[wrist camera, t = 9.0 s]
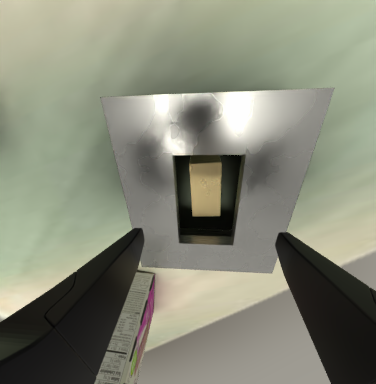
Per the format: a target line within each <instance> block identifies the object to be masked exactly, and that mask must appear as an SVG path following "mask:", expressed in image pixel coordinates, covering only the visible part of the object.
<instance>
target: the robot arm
mask: <svg viewBox="0 0 376 384" xmlns="http://www.w3.org/2000/svg"><path fill="white" fill-rule="evenodd" d="M144 242H145V238H144V233H143V229H142V228H134V229H132V230H131V231H130V232H128V233H127V234H126V235H124V236H123V237H122V238H120V239H119V240H117V241H116V242H115V243H113V244H112V245H111V246H109V247H108V248H107V249H105V250H104V251H103V252H101V253H100V254H98V255H97V256H96V257H94V258H93V259H92V260H90V261H89V262H88V263H86V264H85V265H84V266H82V267H81V268H80V269H78V270H77V272H74V273H73V274H71V275H70V276H69V277H67V278H66V279H64V280H63V281H62V282H60V283H59V284H57V285H56V286H55V287H53V288H52V289H50V290H49V291H47V292H46V293H44V294H43V295H41V296H40V297H38V298H37V299H35V300H34V301H32V302H31V303H29V304H28V305H26V306H25V307H23V308H21V309H20V310H18V311H17V312H15V313H14V314H12V315H11V316H9V317H8V318H6V319H5V320H3V321H2V322H0V384H94V383H95V381H96V378H97V377H96V376H97V375H98V372H99V370H100V367H101V364H102V362H103V359H104V356H105V354H106V351H107V348H108V346H109V343H110V341H111V338H112V335H113V333H114V330H115V327H116V325H117V322H118V319H119V317H120V314H121V311H122V309H123V306H124V303H125V301H126V298H127V296H128V293H129V290H130V288H131V285H132V282H133V280H134V277H135V274H136V272H137V269H138V265H139V262H140V258H141V254H142V250H143V246H144ZM275 248H276V251H277V254H278V258H279V261H280V264H281V267H282V270H283V273H284V276H285V279H286V281H287V283H288V286H289V288H290V290H291V292H292V295H293V297H294V299H295V301H296V304H297V306H298V309H299V311H300V313H301V316H302V318H303V320H304V322H305V325H306V327H307V329H308V331H309V334H310V336H311V339H312V341H313V343H314V345H315V348H316V350H317V352H318V355H319V357H320V359H321V362H322V364H323V366H324V368H325V371H326V373H327V376H328V378H329V380H330V382H331V384H376V291H375V290H373V289H372V288H369V287H368V286H367V285H366V284H364V283H363V282H361V281H360V280H358V279H357V278H355V277H354V276H352V275H351V274H349V273H348V272H346V271H345V270H343V269H342V268H340V267H339V266H337V265H336V264H335V263H333V262H332V261H330V260H329V259H327V258H326V257H324V256H323V255H321V254H320V253H318V252H317V251H315V250H314V249H312V248H311V247H309V246H308V245H306V244H305V243H303V242H302V241H300V240H299V239H297V238H296V237H294V236H293V235H291V234H290V233H288V232H279V233H278V236H277V239H276V242H275Z"/></svg>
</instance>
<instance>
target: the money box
mask: <svg viewBox="0 0 376 384" xmlns="http://www.w3.org/2000/svg"><path fill="white" fill-rule="evenodd" d="M333 91H334V88H316V89H291V90H266V91H241V92H215V93H190V94H165V95H140V96H115V97H100V98H101V102H102V106H103V110H104V114H105V118H106V123H107V127H108V131H109V135H110V139H111V143H112V147H113V151H114V155H115V159H116V163H117V167H118V171H119V176H120V180H121V184H122V188H123V192H124V196H125V200H126V204H127V208H128V212H129V216H130V220H131V224H132V228H133V229H134V228H142V229H143V233H144V238H145V242H144V246H143V250H142V254H141V258H140V261H141V265H142V267H155V268H174V269H194V270H214V271H233V272H253V273H272V272H273V269H274V266H275V263H276V260H277V257H278V254H277V251H276V248H275V242H276V239H277V236H278V233H279V232H286V231H287V228H288V225H289V222H290V219H291V216H292V213H293V210H294V207H295V204H296V201H297V198H298V195H299V192H300V189H301V186H302V183H303V180H304V177H305V174H306V171H307V168H308V166H309V163H310V160H311V157H312V154H313V151H314V148H315V145H316V142H317V139H318V136H319V133H320V130H321V127H322V124H323V121H324V118H325V115H326V112H327V109H328V106H329V103H330V100H331V97H332V94H333ZM175 155H242V158H241V166H240V174H239V181H238V189H237V197H236V204H235V212H234V220H233V227H232V230H225V229H192V228H180V223H179V209H178V194H177V179H176V164H175Z"/></svg>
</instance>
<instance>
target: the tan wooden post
mask: <svg viewBox="0 0 376 384" xmlns="http://www.w3.org/2000/svg"><path fill="white" fill-rule="evenodd" d="M221 169H222V162H221V159H220V157H219V155H191V158H190V162H189V170H190V185H191V200H192V214H193V216H220V203H221Z"/></svg>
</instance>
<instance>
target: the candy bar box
mask: <svg viewBox="0 0 376 384" xmlns="http://www.w3.org/2000/svg"><path fill="white" fill-rule="evenodd" d="M154 280H155V274H154V273H150V272H142V271H137V272H136V274H135V277H134V280H133V282H132V285H131V288H130V290H129V293H128V296H127V298H126V301H125V303H124V306H123V309H122V311H121V314H120V317H119V319H118V322H117V325H116V327H115V330H114V333H113V335H112V338H111V341H110V343H109V346H108V348H107V351H106V354H105V356H104V359H103V362H102V364H101V367H100V370H99V372H98V375H97V376H96V377H97V378H96V381H95V383H94V384H137V380H138V377H139V372H140V368H141V364H142V359H143V355H144V350H145V346H146V342H147V337H148V333H149V328H150V324H151V320H152V315H153V307H154Z"/></svg>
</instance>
